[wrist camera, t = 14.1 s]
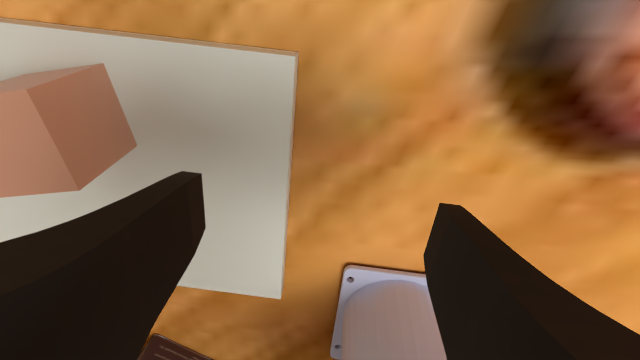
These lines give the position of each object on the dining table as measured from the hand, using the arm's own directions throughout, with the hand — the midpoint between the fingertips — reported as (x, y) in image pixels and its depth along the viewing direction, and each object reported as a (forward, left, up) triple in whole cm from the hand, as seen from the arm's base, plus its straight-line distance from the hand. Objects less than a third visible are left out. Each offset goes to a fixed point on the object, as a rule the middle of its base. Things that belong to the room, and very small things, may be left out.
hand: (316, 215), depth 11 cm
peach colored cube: (-1, +13, -8) cm, 15 cm away
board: (-5, +13, -9) cm, 17 cm away
